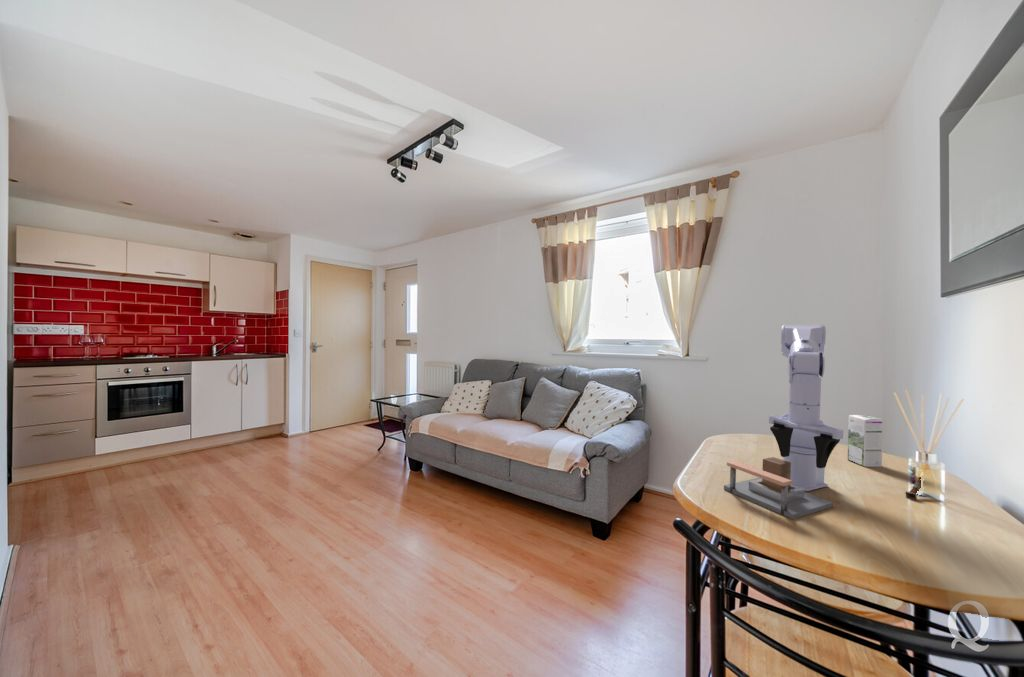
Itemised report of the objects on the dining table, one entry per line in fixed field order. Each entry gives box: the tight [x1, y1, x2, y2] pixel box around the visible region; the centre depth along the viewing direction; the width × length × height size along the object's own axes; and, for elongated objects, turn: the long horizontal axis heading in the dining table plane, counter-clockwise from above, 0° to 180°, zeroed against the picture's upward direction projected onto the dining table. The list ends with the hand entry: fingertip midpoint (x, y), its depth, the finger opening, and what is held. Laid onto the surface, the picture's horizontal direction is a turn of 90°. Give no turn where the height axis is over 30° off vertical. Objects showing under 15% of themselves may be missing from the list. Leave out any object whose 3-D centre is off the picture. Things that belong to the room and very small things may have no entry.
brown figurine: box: [905, 476, 921, 501], centre depth 92 cm, size 2×8×4 cm, turn 118°
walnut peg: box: [761, 456, 791, 492], centre depth 90 cm, size 4×4×8 cm
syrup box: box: [847, 414, 884, 468], centre depth 114 cm, size 6×6×14 cm
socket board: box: [723, 460, 834, 520], centre depth 90 cm, size 16×16×8 cm
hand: (802, 461), depth 87 cm, fingers open, 7 cm apart
